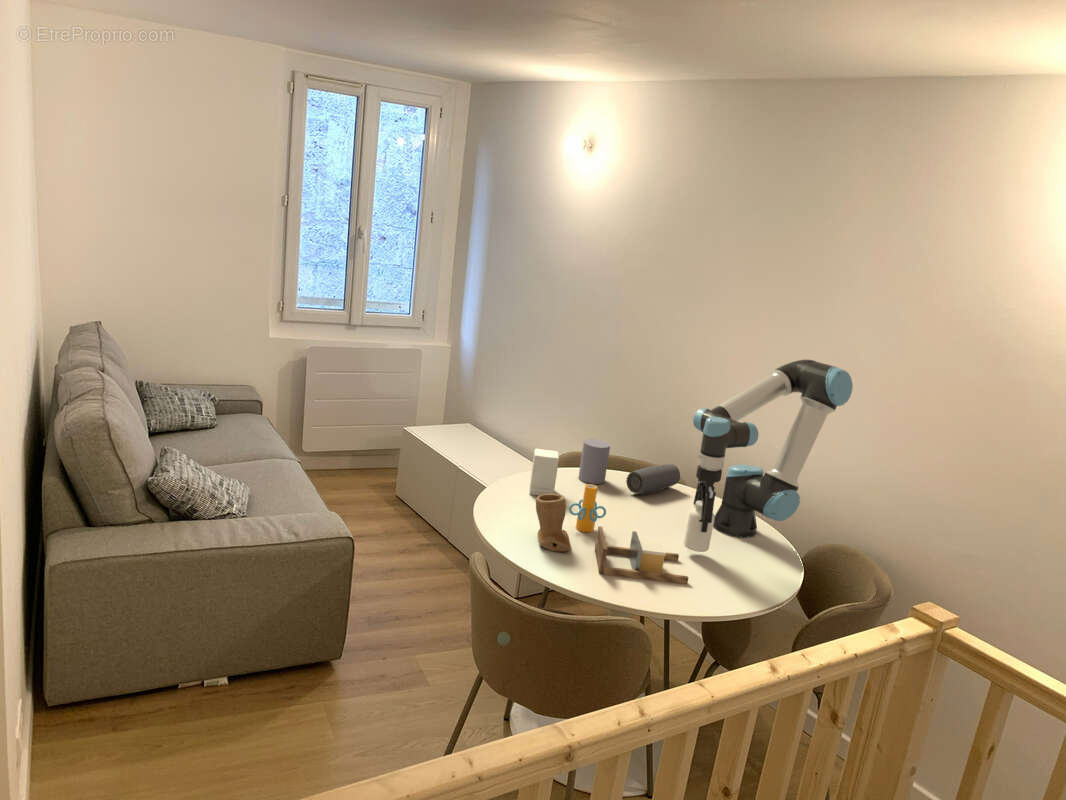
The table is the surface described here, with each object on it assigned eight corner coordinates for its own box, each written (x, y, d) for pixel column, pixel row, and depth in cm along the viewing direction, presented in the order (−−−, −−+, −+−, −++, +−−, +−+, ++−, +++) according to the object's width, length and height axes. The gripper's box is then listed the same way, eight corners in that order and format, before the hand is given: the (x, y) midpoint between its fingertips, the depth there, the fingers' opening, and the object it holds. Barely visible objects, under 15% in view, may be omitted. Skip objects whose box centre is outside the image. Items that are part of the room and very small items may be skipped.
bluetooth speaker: (660, 483, 319) (664, 459, 316) (679, 491, 312) (683, 467, 310) (623, 491, 303) (627, 466, 301) (641, 500, 297) (646, 474, 294)
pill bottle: (709, 554, 249) (717, 510, 245) (683, 549, 250) (690, 505, 246) (709, 544, 256) (716, 501, 253) (683, 539, 258) (691, 496, 254)
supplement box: (553, 497, 287) (559, 458, 284) (528, 494, 287) (534, 455, 284) (553, 489, 296) (558, 450, 293) (529, 486, 296) (534, 447, 292)
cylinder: (590, 539, 255) (596, 495, 252) (562, 529, 260) (568, 486, 257) (607, 528, 266) (614, 486, 262) (580, 519, 271) (586, 477, 267)
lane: (677, 559, 249) (681, 536, 247) (687, 584, 233) (692, 559, 231) (594, 550, 248) (598, 526, 246) (599, 574, 232) (603, 548, 230)
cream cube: (657, 564, 244) (661, 542, 242) (661, 574, 237) (665, 552, 235) (634, 561, 244) (638, 539, 242) (637, 572, 237) (641, 550, 235)
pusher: (632, 555, 247) (636, 531, 245) (638, 575, 234) (642, 550, 232) (628, 555, 247) (632, 531, 245) (634, 574, 234) (638, 549, 232)
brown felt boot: (530, 530, 256) (536, 486, 252) (567, 534, 257) (573, 491, 253) (531, 550, 241) (537, 504, 238) (570, 555, 242) (577, 509, 238)
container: (576, 481, 307) (582, 444, 304) (579, 473, 317) (585, 437, 314) (603, 486, 306) (609, 449, 303) (605, 478, 316) (611, 442, 312)
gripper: (691, 455, 256) (680, 520, 262) (705, 477, 236) (693, 547, 242) (714, 457, 257) (703, 522, 262) (730, 479, 237) (717, 550, 242)
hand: (698, 534), depth 252 cm, fingers closed on pill bottle, 8 cm apart
